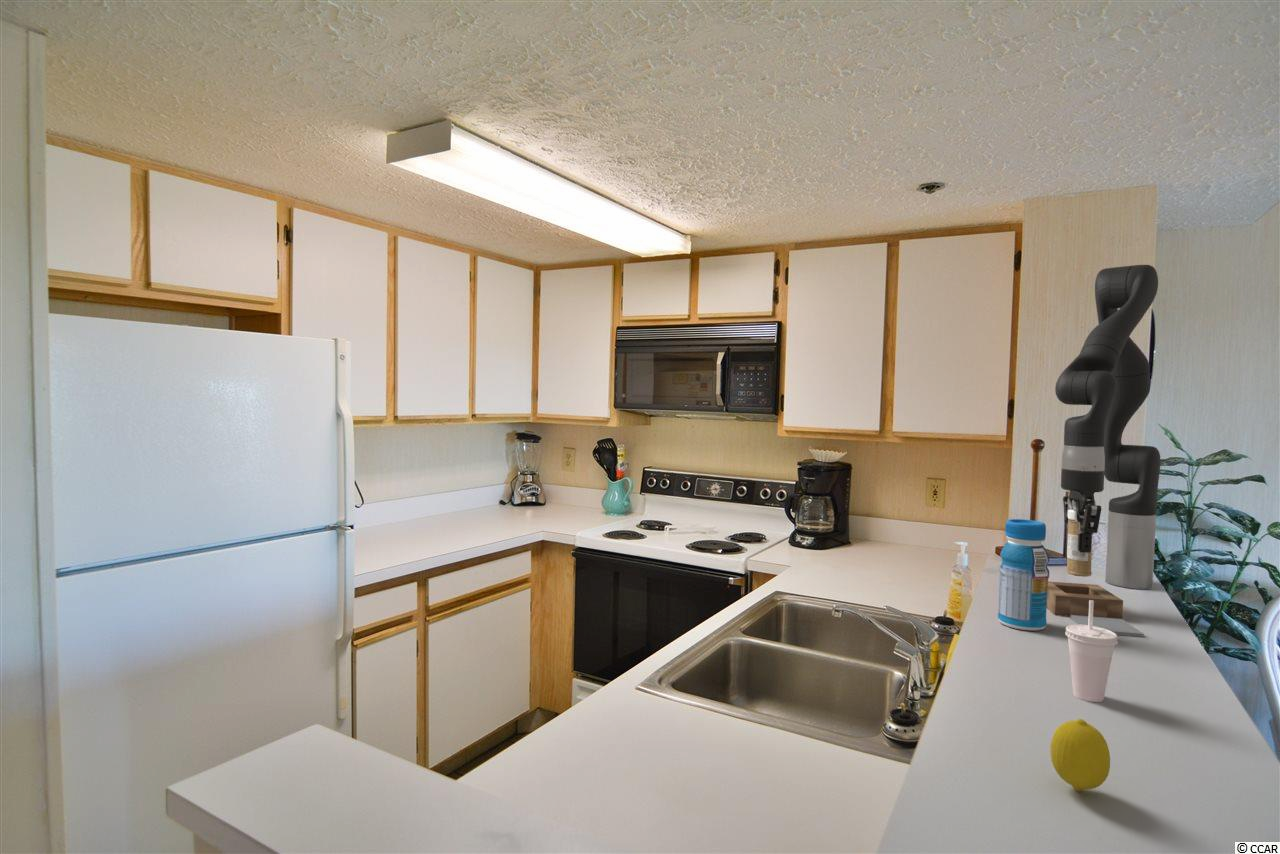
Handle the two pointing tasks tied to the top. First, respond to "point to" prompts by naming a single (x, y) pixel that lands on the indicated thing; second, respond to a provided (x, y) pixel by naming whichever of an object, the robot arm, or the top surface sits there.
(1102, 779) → the lemon
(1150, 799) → the top surface
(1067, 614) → the walnut socket block
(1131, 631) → the slate pad
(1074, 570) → the sprinkles bottle
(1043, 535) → the beverage bottle
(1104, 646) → the smoothie
